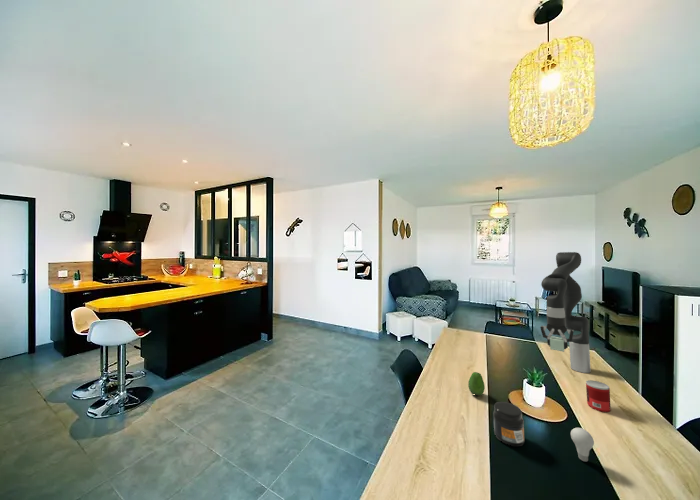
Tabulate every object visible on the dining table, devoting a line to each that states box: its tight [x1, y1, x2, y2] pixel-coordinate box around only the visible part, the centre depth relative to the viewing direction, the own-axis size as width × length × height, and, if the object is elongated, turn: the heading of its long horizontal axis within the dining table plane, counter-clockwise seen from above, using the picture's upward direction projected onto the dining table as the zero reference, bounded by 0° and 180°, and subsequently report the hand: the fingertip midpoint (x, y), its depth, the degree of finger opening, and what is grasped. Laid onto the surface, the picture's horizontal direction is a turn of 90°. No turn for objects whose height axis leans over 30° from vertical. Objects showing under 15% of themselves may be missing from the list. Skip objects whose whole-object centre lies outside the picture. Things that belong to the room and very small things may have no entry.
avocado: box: [467, 371, 485, 396], centre depth 132 cm, size 8×8×12 cm
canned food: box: [585, 379, 612, 413], centre depth 118 cm, size 8×8×11 cm
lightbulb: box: [570, 427, 595, 462], centre depth 89 cm, size 6×6×11 cm
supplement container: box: [492, 401, 526, 447], centre depth 101 cm, size 10×10×12 cm
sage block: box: [549, 335, 565, 352], centre depth 132 cm, size 6×6×6 cm
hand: (557, 347), depth 132 cm, fingers closed on sage block, 5 cm apart
